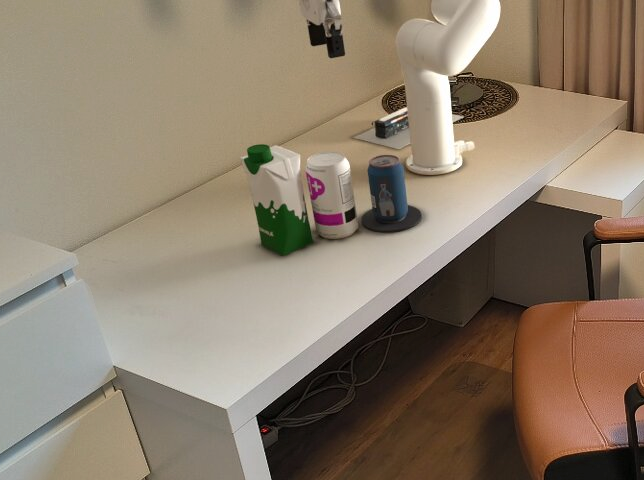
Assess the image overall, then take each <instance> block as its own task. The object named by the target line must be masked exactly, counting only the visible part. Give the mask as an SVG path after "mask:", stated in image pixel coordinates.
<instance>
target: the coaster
mask: <svg viewBox="0 0 644 480" xmlns="http://www.w3.org/2000/svg"><path fill="white" fill-rule="evenodd" d="M407 205H408V212H407V214H406V216H405V218H404V219H403V220H401V221H399V222H395V223H383V222H380V221H379V220H378V219H377V218H376V217H375V216H374V214H373V209H372V208H371V209H369V210H367V211H366V212H364V213H363V214H362V216H361V218H360V220H361V225H362V227H364V228H365V229H366V230H368V231H371V232H375V233H383V234H385V233H386V234H389V233H399V232H403V231H406V230H409V229H411V228H414V227H415V226H417V225H418V224H419V223H420V222H421V221H422V218H423V214H422V212H421V210H420V209H418V208H417V207H415V206H413V205H409V204H407Z"/></svg>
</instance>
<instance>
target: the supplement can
mask: <svg viewBox="0 0 644 480" xmlns="http://www.w3.org/2000/svg"><path fill="white" fill-rule="evenodd" d="M306 161H307V162H306V164H305V167H304V170H305V176H306V180H307V187H308V193H309V197H310V204H311V209H312V215H313V221H314V227H315V232H316V233H317V234H318V235H319V236H321V237H322V238H324V239H329V240H338V239H339V240H340V239H344V238H347V237H349V236H352V235H353V234H354V233H356V230H358V228H359V219H358V213H357V206H356V200H355V194H354V193H355V192H354V187H353V179H352V172H351V166H350V162H349V161H348V159H347V158H346V156H345V154H343V153H341V152H338V151H323V152H318V153H315V154H312V155H311V156H309V157H308V158H307V160H306Z"/></svg>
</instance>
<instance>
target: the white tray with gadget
mask: <svg viewBox="0 0 644 480" xmlns="http://www.w3.org/2000/svg"><path fill="white" fill-rule="evenodd" d="M463 118H465V116H463V115H459V114H454V113H452V124H453V123H454V122H457V121H459V120H460V119H463ZM371 126H374V127H373V128H371V129H368V130H366V131H364V132H362V133H360V134H358V135H356V136H353V137H352V138H353V139H357V140H361V141H364V142H369V143H373V144H377V145H379V146H380V145H381V146H383V147H388V148H391V149H395V150H400V149H402V148H404V147H406V146H408V145H411V139H410V130H409V121H408V111H407V106H405V107H403V108H400V109H398V110H396V111H394V112H392V113H390V114H387V115H385V116H383V117H380V118H379V119H377V120H375V121H372V122H371Z"/></svg>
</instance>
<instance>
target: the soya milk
mask: <svg viewBox="0 0 644 480" xmlns="http://www.w3.org/2000/svg"><path fill="white" fill-rule="evenodd" d="M246 152H247V154H246V155H243V156H241V157H240V158H239V159H240V162H241V164H242V166H243V170H244V173H245V175H246V178H247V180H248V181H247V182H248V185H249V190H250V193H251V198H252V203H253V207H254V208H253V209H254V212H255V217H256V222H257V226H258V231H259V232H258V233H259V238H260V243H261V246H262V247H264V248H266V249H268V250H270V251H272V252H274V253H276V254H278V255H280V256H282V257H284V256H287V255H289V254H291V253H293V252H295V251H299V250H300V249H302V248H304V247H307V246H309V245H311V244H313V243H314V238H313V233H312V229H311V225H310V219H309V214H308V209H307V203H306V199H305V193H304V186H303V181H302V175H301V154H299V153H297V152H294V151H292V150H289V149H287V148H285V147H282V146H279V145H277V144H275V145H273V146H270V145H268V144H263V143H261V144H259V143H258V144H254V145H250V146H248V148H247V149H246Z"/></svg>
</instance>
